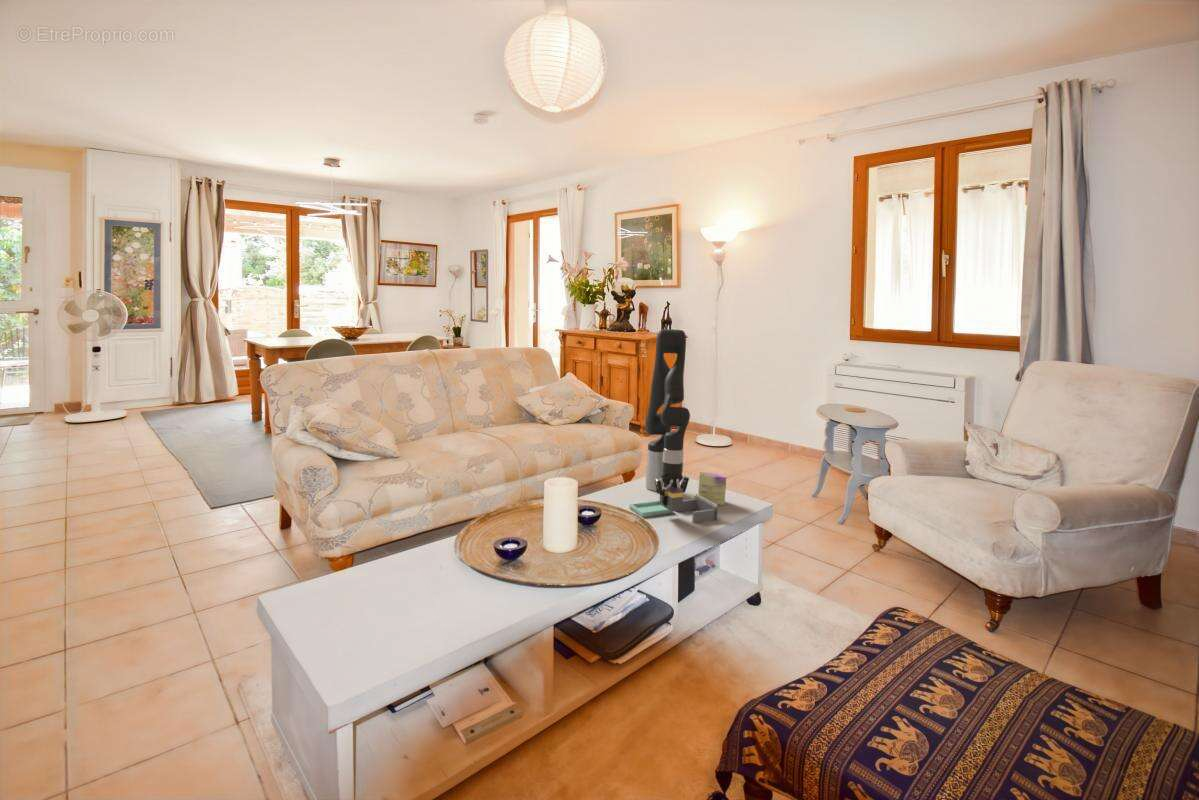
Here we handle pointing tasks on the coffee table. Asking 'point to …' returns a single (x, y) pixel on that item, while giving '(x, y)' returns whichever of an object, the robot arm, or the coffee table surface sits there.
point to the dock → (700, 509)
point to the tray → (649, 509)
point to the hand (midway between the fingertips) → (670, 504)
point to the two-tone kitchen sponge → (673, 499)
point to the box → (713, 487)
